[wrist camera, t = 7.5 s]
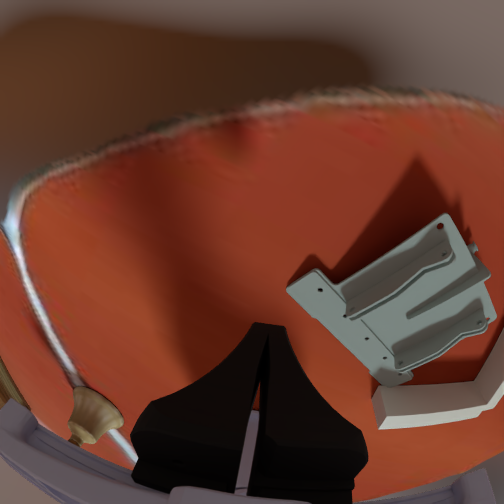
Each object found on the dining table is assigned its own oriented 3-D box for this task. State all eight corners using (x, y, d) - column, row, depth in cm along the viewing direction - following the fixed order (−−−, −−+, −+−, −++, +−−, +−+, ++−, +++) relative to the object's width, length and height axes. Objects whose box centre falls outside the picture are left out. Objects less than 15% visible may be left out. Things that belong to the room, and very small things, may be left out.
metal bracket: (450, 187, 12) (515, 341, 14) (425, 162, 17) (496, 296, 19) (267, 311, 20) (376, 406, 22) (286, 266, 25) (378, 360, 27)
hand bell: (102, 427, 33) (59, 502, 18) (65, 389, 31) (9, 463, 16) (135, 425, 31) (89, 517, 16) (93, 382, 29) (28, 473, 14)
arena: (371, 398, 24) (378, 429, 20) (450, 154, 16) (481, 157, 12) (476, 391, 23) (488, 414, 19) (554, 201, 15) (579, 211, 11)
